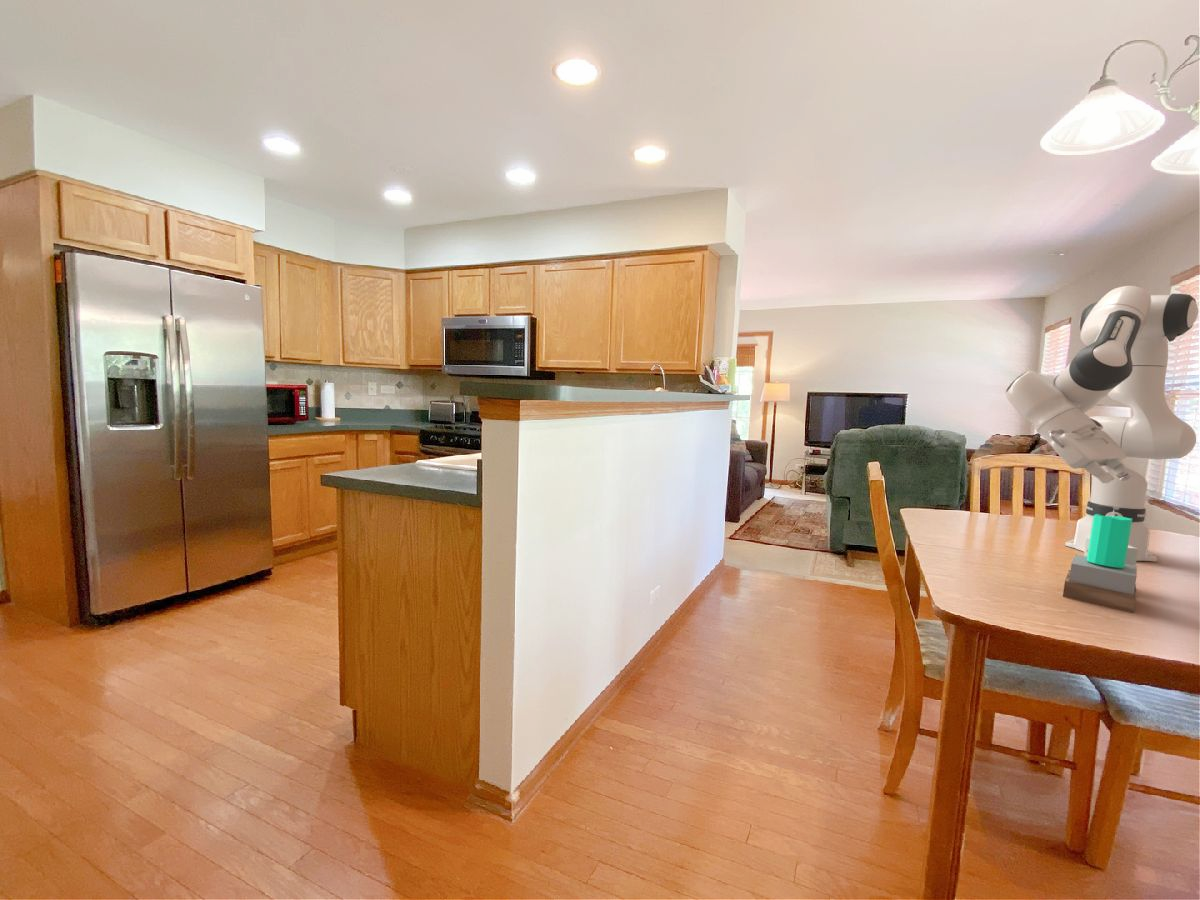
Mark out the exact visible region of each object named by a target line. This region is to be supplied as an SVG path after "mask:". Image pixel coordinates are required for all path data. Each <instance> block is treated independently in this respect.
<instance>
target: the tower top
mask: <svg viewBox="0 0 1200 900" xmlns="http://www.w3.org/2000/svg"><path fill="white" fill-rule="evenodd" d="M1070 566H1071V567H1070V570H1071V571H1070V578H1069V581H1071V582H1076V583H1080V584H1085V585H1090V586H1094V587H1099V588H1103V589H1108V590H1113V591H1117V592H1122V593H1127V594H1131V595H1134V589H1135V584H1136V583H1137V577H1138V576H1137V575H1138V574H1137V573H1138V572H1137V571H1138V567H1137V565H1136V566H1134V565H1129V564H1125V567H1124V568H1117V567H1110V566H1104V565H1099V564H1095V563H1092V562H1089V561H1087V557H1086V556H1084V555H1080V554H1075V555H1074V557H1073V560H1072V562H1071V565H1070Z"/></svg>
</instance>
